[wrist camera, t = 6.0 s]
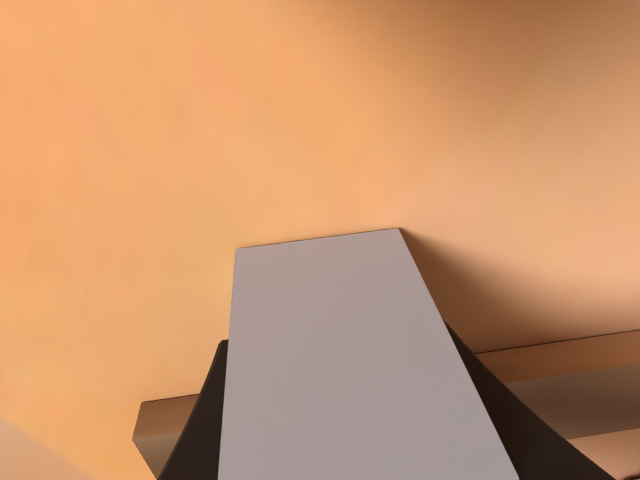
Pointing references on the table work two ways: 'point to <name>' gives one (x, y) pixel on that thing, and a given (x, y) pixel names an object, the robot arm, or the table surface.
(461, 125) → the table surface
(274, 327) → the grey tall block
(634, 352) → the board
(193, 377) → the table surface
